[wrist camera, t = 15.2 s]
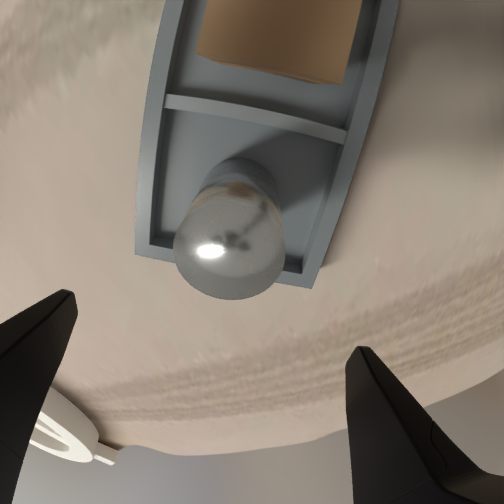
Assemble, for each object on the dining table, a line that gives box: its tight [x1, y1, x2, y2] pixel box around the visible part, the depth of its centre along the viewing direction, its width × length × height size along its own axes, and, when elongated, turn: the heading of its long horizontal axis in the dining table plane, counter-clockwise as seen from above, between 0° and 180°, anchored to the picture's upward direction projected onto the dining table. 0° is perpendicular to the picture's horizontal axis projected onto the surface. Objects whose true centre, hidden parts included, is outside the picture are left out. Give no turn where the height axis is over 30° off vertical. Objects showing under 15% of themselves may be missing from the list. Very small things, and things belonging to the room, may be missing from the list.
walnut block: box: [195, 0, 362, 85], centre depth 11 cm, size 5×5×7 cm
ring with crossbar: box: [29, 386, 118, 465], centre depth 37 cm, size 28×28×5 cm
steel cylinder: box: [173, 158, 285, 300], centre depth 16 cm, size 5×5×7 cm
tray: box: [135, 0, 400, 289], centre depth 16 cm, size 12×20×2 cm, turn 168°
